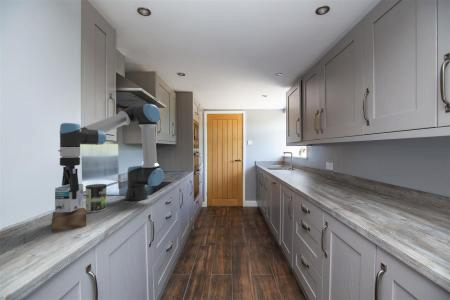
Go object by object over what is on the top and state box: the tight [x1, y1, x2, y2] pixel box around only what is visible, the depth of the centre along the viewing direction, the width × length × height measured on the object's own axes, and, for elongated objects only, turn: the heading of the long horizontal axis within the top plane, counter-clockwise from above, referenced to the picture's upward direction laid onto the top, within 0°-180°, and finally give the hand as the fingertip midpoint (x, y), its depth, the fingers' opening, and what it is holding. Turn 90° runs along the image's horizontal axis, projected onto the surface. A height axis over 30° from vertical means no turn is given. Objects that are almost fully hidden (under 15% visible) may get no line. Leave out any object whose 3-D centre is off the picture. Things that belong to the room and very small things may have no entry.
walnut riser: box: [51, 207, 87, 233], centre depth 94 cm, size 12×12×6 cm
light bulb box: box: [54, 183, 84, 212], centre depth 94 cm, size 11×7×11 cm, turn 9°
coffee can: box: [85, 183, 107, 213], centre depth 118 cm, size 10×10×14 cm
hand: (69, 203), depth 94 cm, fingers closed on light bulb box, 12 cm apart
